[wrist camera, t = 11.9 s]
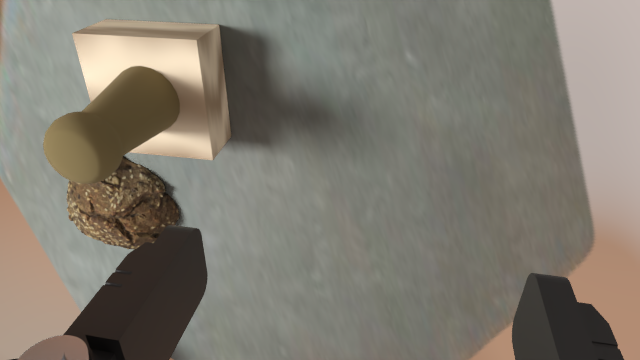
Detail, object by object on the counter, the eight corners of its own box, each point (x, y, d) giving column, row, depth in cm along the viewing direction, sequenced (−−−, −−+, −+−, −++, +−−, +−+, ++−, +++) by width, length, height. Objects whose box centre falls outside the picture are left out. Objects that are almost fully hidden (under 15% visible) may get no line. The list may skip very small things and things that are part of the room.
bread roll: (68, 210, 58) (41, 235, 54) (85, 132, 51) (55, 154, 47) (163, 257, 59) (144, 285, 55) (192, 186, 53) (172, 212, 48)
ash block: (105, 19, 44) (72, 33, 40) (219, 24, 42) (196, 39, 38) (130, 127, 50) (104, 149, 45) (231, 136, 48) (212, 160, 44)
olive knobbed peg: (131, 51, 39) (42, 101, 30) (191, 96, 41) (123, 158, 31) (104, 102, 42) (16, 161, 33) (161, 143, 44) (92, 211, 34)
